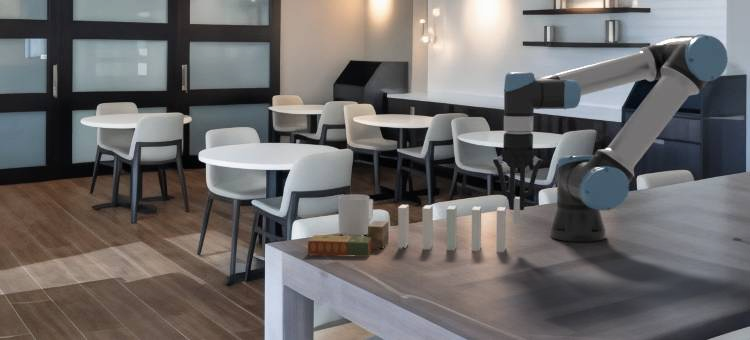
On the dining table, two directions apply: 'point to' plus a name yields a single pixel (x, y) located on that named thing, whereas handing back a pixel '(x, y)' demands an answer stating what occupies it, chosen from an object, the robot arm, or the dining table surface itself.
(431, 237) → the domino
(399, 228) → the domino
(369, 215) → the mug
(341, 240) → the carton
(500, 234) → the domino
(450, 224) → the domino
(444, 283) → the dining table surface
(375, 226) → the block
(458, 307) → the dining table surface
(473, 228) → the domino
